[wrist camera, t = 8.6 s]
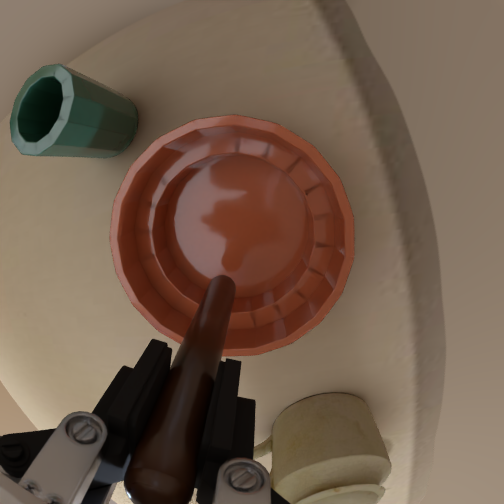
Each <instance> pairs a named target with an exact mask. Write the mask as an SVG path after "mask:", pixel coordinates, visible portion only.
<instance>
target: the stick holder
mask: <svg viewBox="0 0 504 504" xmlns="http://www.w3.org/2000/svg"><path fill="white" fill-rule="evenodd" d="M137 127H138V113H137V109H136V107H135V105H134V104H133V102H132V101H131V100H130V99H128V98H127V97H125V96H124V95H123V94H121V93H119V92H117V91H116V90H114V89H112V88H110V87H108V86H106V85H104V84H102V83H100V82H98V81H96V80H94V79H92V78H90V77H87V76H85V75H83V74H81V73H79V72H77V71H75V70H73V69H71V68H68V67H66V66H64V65H62V64H54V65H48V66H43V67H41V68H40V69H39V70H38V71H36V72H35V73H34V74H33V75H31V76H30V77H29V78H28V79H27V80H26V82H25V83H24V85H23V87H22V88H21V90H20V92H19V93H18V95H17V97H16V99H15V102H14V106H13V110H12V114H11V118H10V130H11V138H12V142H13V143H14V145H15V146H16V148H17V149H18V150H19V151H20V153H21V154H23V155H30V156H59V157H87V158H110V157H114V156H116V155H118V154H120V153H121V152H123V151H124V150H125V149H126V148H127V147H128V146H129V145H130V143H131V142H132V140H133V138H134V136H135V134H136V131H137Z"/></svg>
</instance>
